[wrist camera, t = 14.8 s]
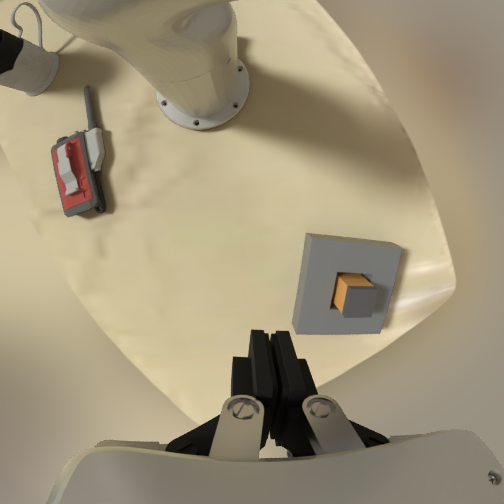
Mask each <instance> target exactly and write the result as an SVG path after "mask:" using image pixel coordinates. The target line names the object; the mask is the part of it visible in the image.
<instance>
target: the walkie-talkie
mask: <svg viewBox="0 0 504 504" xmlns="http://www.w3.org/2000/svg"><path fill="white" fill-rule="evenodd" d="M84 95H85V103H86V111H87V118H88V129H89V131H88V132H86V130H82V131H81V132H78V131H75V132H73V135H72V136H70V137H62V138H60V139H58V140H57V144H56V145H54V146H53V147H52V149H51V154H52V160H53V166H54V171H55V176H56V180H57V184H58V189H59V194H60V198H61V201H62V205H63V209H64V210H63V211H64V213H65V215H66V216H67V217H71V216H74V215H77V214H80V213H82V212H84V211H87V210H89V209H92V208H94V207H95V209H96V211H97V212H98V213H102V212H104V211H105V209H106V204H105V200H104V196H103V192H102V188H101V184H100V180H99V176H100V170H101V165H102V162H103V159H104V156H105V149H104V144H103V139H102V129H100V128H97V125H96V122H95V119H94V113H93V106H92V100H91V93H90V86H88V85H87V86H85V87H84ZM100 205H102V210H100V209H99V207H98V206H100Z"/></svg>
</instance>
